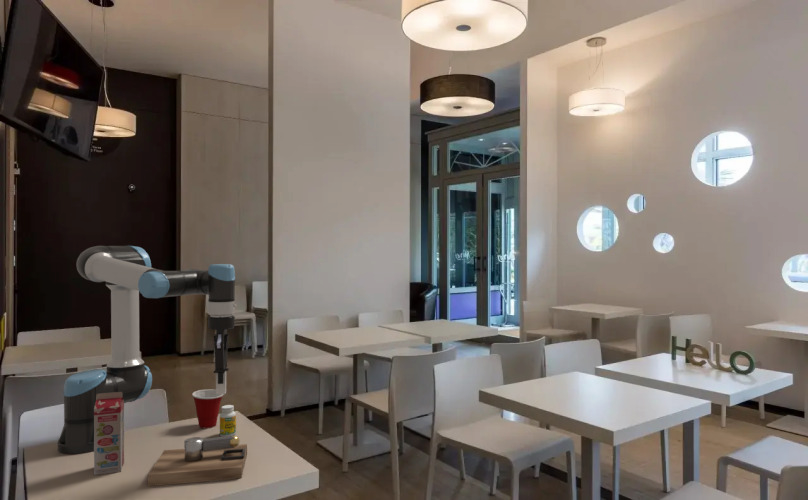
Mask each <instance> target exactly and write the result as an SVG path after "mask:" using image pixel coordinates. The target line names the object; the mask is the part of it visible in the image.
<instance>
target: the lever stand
mask: <svg viewBox="0 0 808 500" xmlns="http://www.w3.org/2000/svg"><path fill="white" fill-rule="evenodd" d="M247 455H248V443H241V444H238V446H236V447H234V448H229V449H221V450H214V451H206V452H203V458H201V459H199V460H195V461H187V460H185V453H184V448H177V449H164V450H163V452H162V453H161V454H160V456H159V457H158V459H157V461H156V462H155V464H154V465H153V466H152V468H151V470H150V471H149V472H148V474H147V486H148V487H153V486H163V485H175V484H176V485H177V484H187V483H199V482H201V483H202V482H208V481H209V482H211V481H213V482H214V481H222V480H233V479H242V477H243V474H244V469H245V466H246V465H245V464H246V460H247V457H248V456H247Z"/></svg>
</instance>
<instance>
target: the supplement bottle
mask: <svg viewBox="0 0 808 500" xmlns="http://www.w3.org/2000/svg"><path fill="white" fill-rule="evenodd" d="M234 408H235V407H234V404H225V405H223V406H221V413H220V414H219V437H225V436H233V435H234V436H236V434H237V414H236V412H235V411H234V410H235V409H234Z"/></svg>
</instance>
